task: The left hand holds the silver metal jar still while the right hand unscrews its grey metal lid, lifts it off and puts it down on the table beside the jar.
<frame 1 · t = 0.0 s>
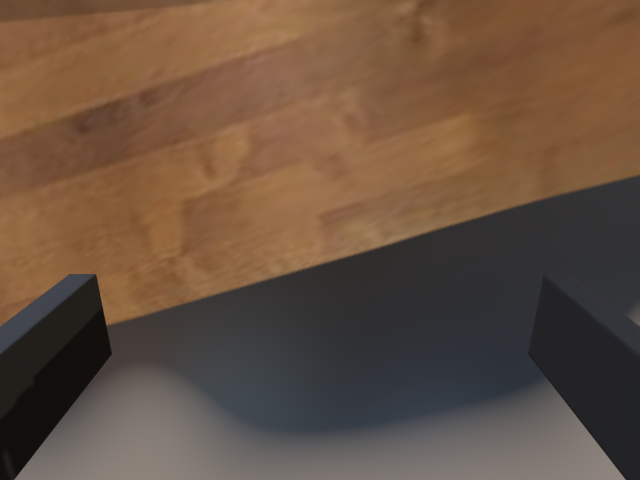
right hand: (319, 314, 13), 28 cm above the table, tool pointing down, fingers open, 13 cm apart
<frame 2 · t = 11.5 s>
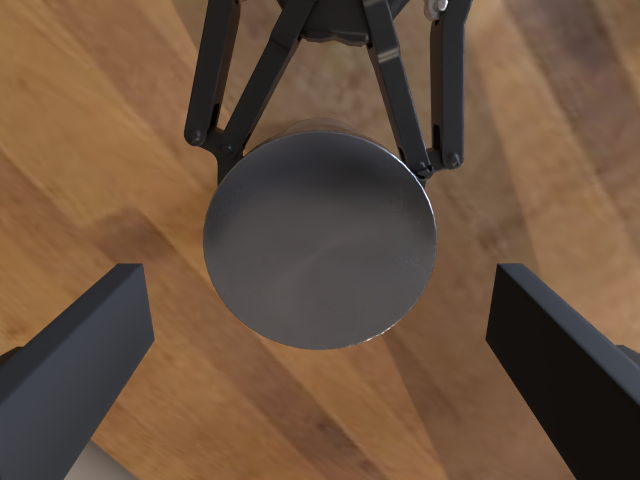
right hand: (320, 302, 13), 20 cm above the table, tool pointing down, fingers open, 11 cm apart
left hand: (313, 265, 28), fingers closed on jar, 8 cm apart
jar: (320, 175, 32), on the table, touching left hand
lid: (320, 247, 18), point 15 cm above the table, screwed on, not yet turned
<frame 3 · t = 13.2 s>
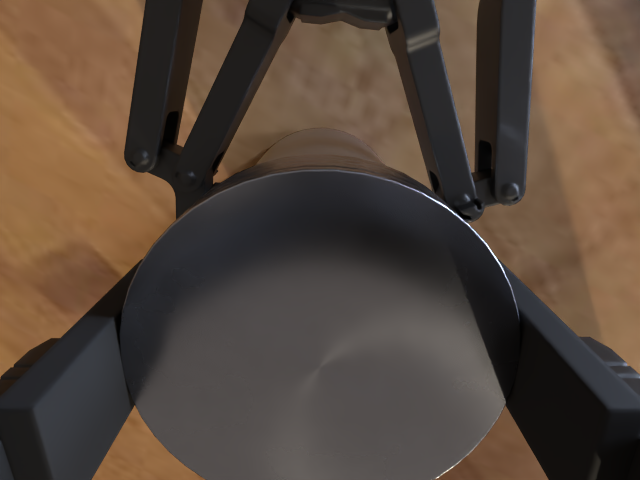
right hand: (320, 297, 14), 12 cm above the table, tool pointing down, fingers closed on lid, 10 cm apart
left hand: (311, 329, 20), fingers closed on jar, 8 cm apart
jar: (320, 201, 25), on the table, touching left hand
lid: (320, 358, 11), point 15 cm above the table, screwed on, not yet turned, touching right hand
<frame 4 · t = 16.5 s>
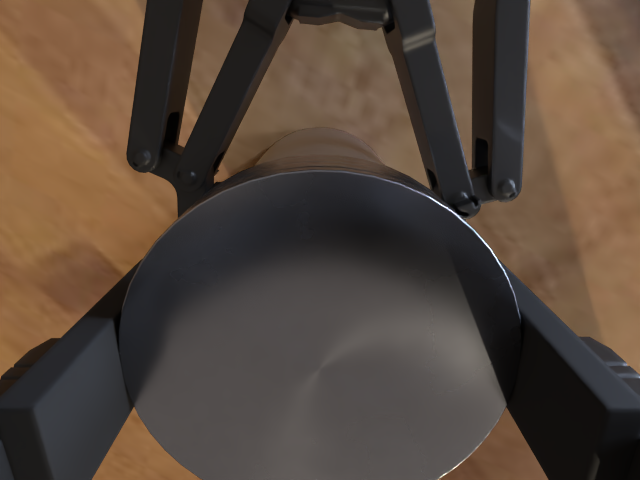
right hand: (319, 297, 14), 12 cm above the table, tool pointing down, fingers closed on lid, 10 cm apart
left hand: (312, 326, 21), fingers closed on jar, 8 cm apart
jar: (320, 200, 25), on the table, touching left hand
lid: (320, 359, 11), point 16 cm above the table, turned 103° so far, risen 0.3 cm, still on its thread, touching right hand
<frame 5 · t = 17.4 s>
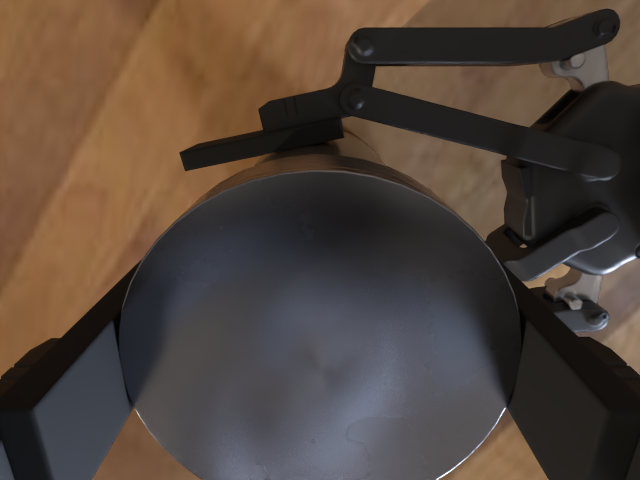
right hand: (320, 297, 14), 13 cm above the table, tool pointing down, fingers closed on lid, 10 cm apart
left hand: (222, 254, 20), fingers closed on jar, 8 cm apart
jar: (319, 199, 26), on the table, touching left hand
lid: (320, 359, 11), point 16 cm above the table, turned 176° so far, risen 0.6 cm, still on its thread, touching right hand
when the right hand's fingers open (0 cm above the table, at t = 24.3 s): lid drops 2 cm, point 2 cm above the table.
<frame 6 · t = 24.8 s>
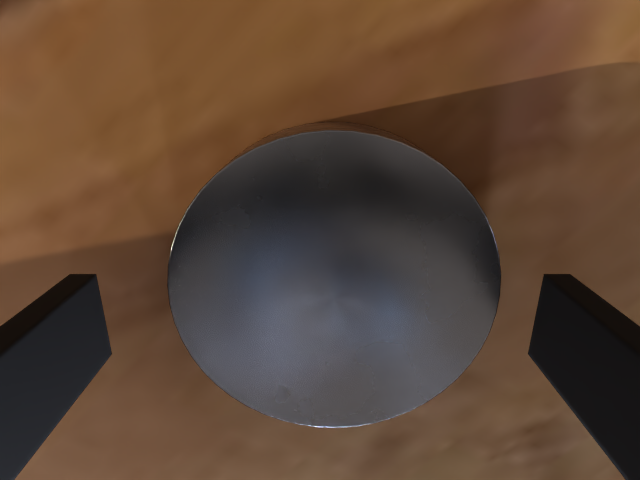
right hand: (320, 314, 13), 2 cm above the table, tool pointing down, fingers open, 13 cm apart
lid: (333, 294, 13), point 2 cm above the table, off its thread
when the left hand's fingers open (7 cm above the table, at t = 25.4 s): jar stays where it is, on the table.
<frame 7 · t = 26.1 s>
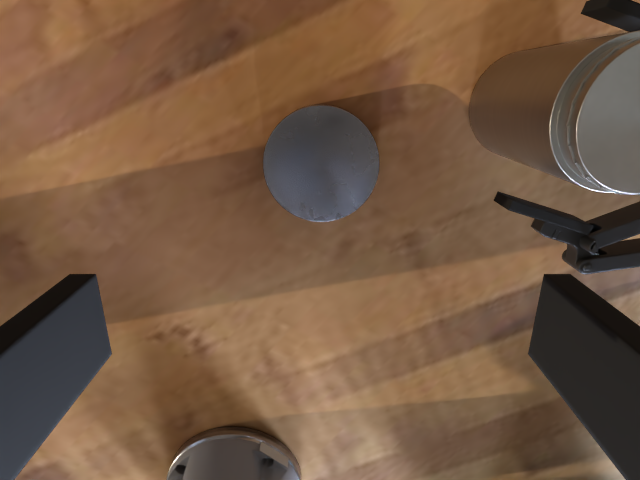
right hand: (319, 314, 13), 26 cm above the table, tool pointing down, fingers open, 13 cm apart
jar: (519, 105, 35), on the table
lid: (321, 165, 35), point 2 cm above the table, off its thread
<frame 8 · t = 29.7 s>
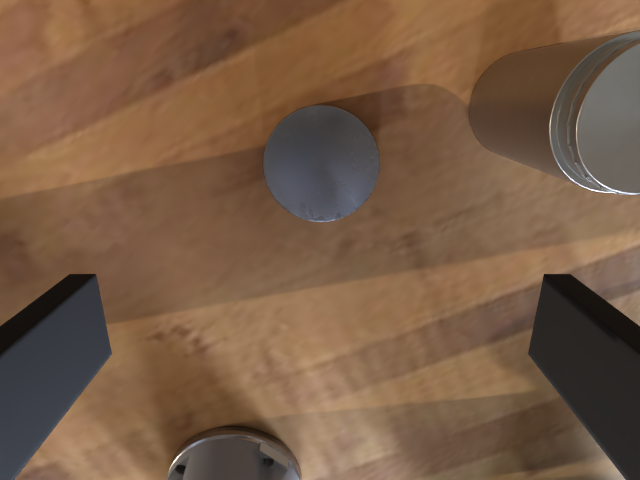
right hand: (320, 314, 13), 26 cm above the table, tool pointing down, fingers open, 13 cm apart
jar: (519, 105, 35), on the table
lid: (321, 165, 35), point 2 cm above the table, off its thread
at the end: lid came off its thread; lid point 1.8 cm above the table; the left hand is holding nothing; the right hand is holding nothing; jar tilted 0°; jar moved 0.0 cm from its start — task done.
